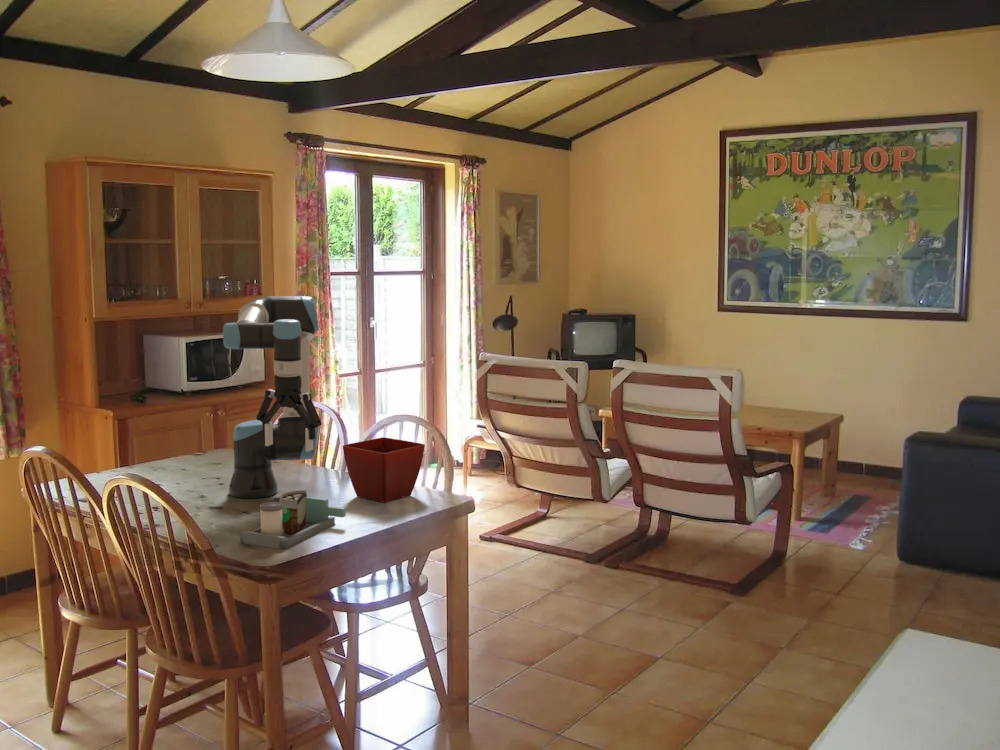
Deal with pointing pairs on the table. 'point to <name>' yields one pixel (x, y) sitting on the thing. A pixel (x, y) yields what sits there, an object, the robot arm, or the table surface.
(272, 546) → the grey tray
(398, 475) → the plant pot
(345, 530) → the table surface
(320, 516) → the pusher
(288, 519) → the food container
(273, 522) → the jar
